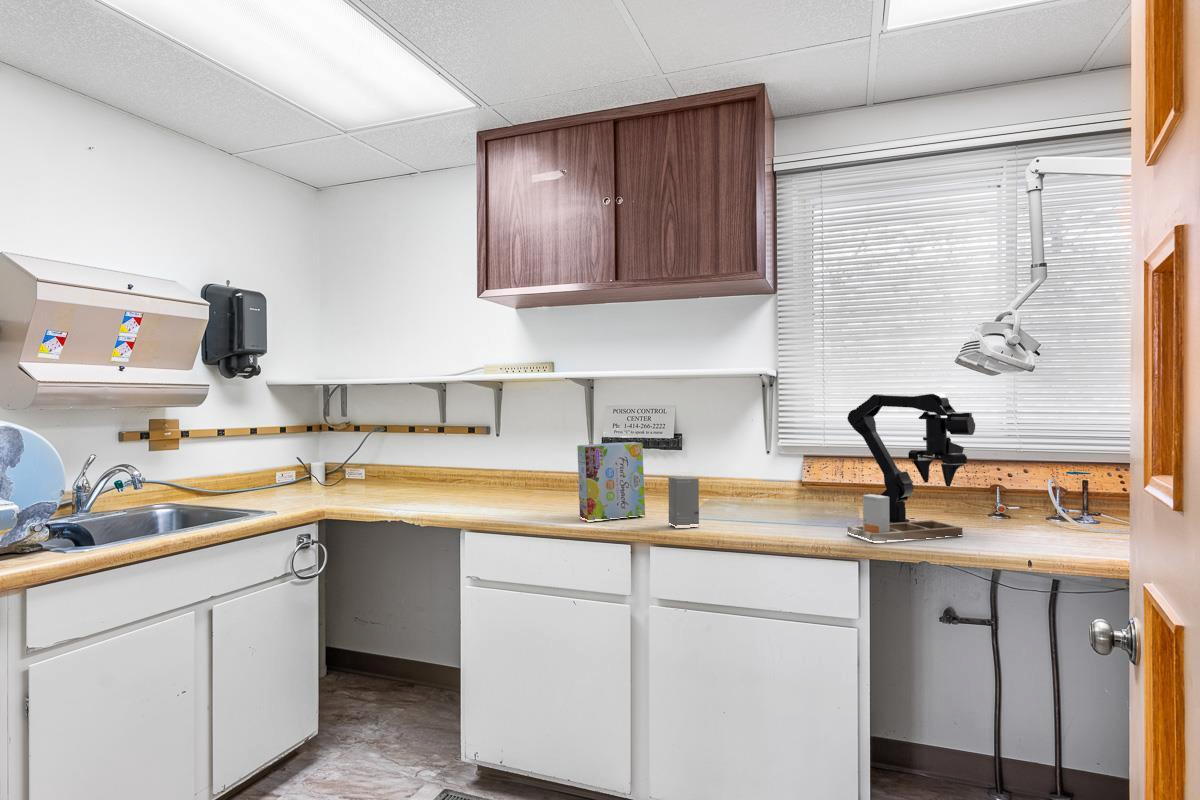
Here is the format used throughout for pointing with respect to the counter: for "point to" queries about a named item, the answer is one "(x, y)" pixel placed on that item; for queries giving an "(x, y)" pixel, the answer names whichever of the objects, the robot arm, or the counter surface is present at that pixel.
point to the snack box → (611, 480)
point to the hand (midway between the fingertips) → (937, 484)
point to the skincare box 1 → (683, 500)
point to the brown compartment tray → (909, 531)
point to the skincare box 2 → (876, 513)
